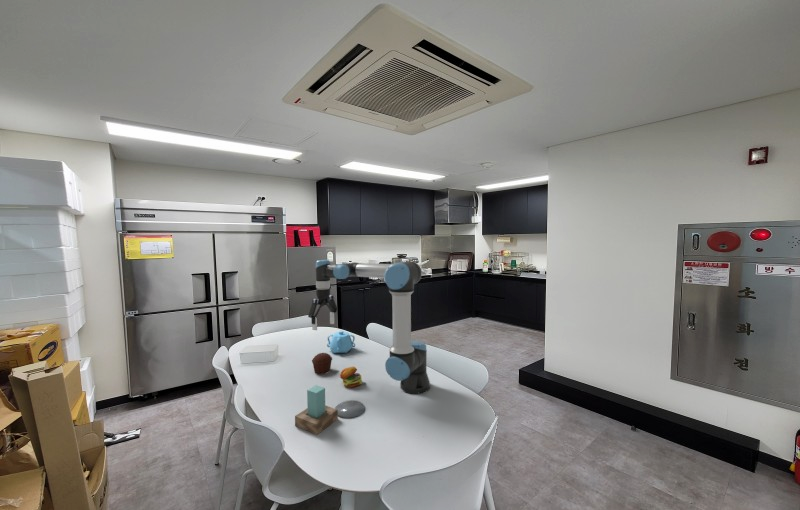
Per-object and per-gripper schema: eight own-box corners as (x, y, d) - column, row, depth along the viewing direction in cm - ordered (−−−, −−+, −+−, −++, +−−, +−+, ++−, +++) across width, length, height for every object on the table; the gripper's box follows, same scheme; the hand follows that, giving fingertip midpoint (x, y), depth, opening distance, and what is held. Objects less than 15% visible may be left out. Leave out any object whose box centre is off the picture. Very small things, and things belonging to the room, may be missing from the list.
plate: (370, 406, 138) (370, 404, 138) (352, 421, 126) (352, 419, 126) (347, 399, 144) (347, 397, 144) (328, 413, 133) (328, 411, 133)
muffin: (321, 377, 169) (321, 359, 168) (307, 372, 174) (307, 355, 174) (336, 369, 179) (336, 352, 178) (323, 365, 185) (322, 349, 184)
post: (325, 420, 127) (325, 387, 126) (316, 427, 123) (316, 393, 122) (316, 417, 129) (316, 385, 129) (307, 423, 125) (307, 390, 124)
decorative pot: (357, 351, 208) (357, 332, 207) (335, 357, 198) (335, 336, 198) (346, 345, 221) (346, 326, 220) (325, 350, 211) (325, 330, 211)
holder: (337, 418, 128) (337, 409, 128) (316, 434, 118) (316, 424, 118) (316, 411, 134) (316, 402, 134) (295, 425, 124) (294, 416, 124)
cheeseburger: (359, 389, 154) (354, 370, 154) (340, 392, 156) (335, 373, 156) (365, 380, 164) (360, 362, 164) (347, 383, 166) (342, 365, 166)
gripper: (333, 285, 179) (333, 320, 180) (300, 291, 158) (301, 331, 158) (343, 285, 176) (343, 322, 177) (311, 292, 154) (312, 333, 155)
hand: (323, 326), depth 167 cm, fingers open, 13 cm apart
